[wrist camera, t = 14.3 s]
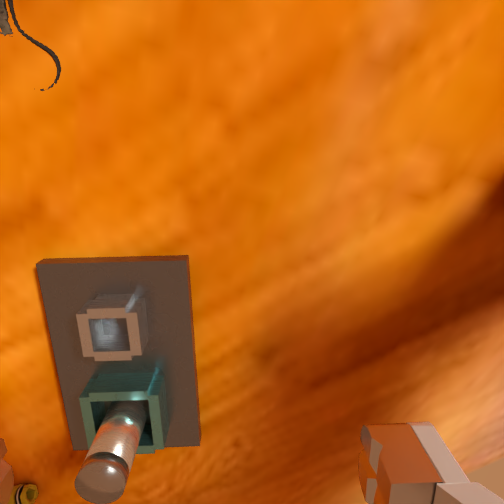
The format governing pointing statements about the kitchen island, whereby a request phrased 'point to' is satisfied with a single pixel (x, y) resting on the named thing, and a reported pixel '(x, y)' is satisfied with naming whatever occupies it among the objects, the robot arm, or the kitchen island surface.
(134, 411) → the fitting
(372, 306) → the kitchen island surface
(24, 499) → the sprinkler
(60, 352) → the manifold plate
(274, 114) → the kitchen island surface
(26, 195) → the kitchen island surface
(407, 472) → the robot arm
